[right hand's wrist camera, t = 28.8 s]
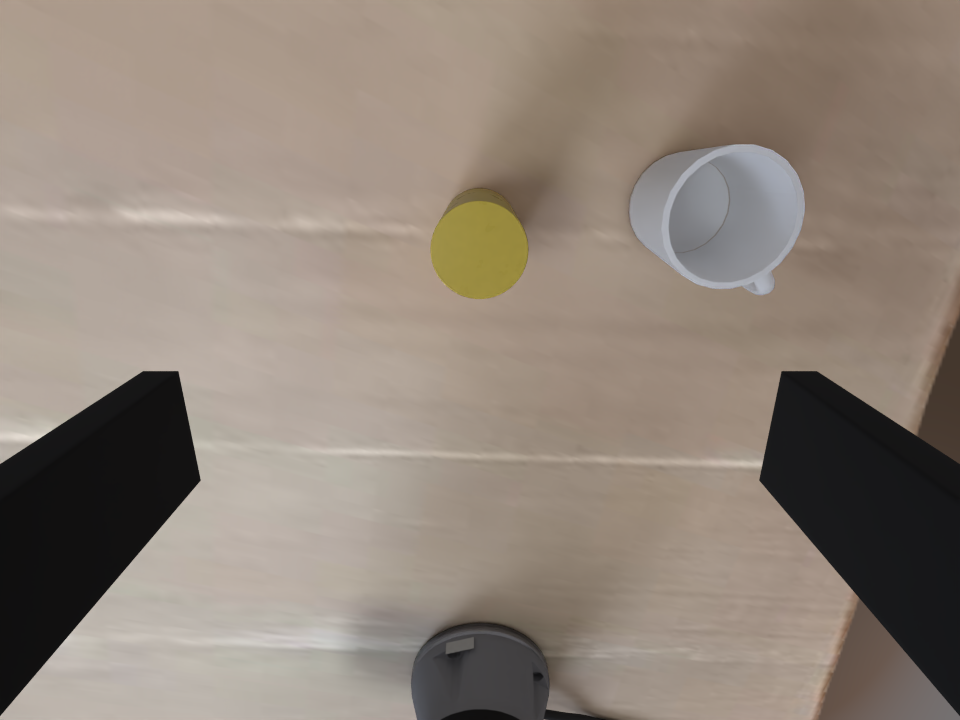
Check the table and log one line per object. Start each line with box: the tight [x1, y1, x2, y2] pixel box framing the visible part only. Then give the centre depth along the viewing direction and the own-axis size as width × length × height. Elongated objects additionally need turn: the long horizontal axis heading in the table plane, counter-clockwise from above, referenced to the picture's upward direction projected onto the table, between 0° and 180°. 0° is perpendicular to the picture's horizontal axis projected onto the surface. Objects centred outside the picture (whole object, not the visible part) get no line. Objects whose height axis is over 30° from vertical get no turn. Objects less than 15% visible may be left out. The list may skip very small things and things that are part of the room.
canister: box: [431, 188, 528, 299], centre depth 40 cm, size 6×6×12 cm
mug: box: [629, 144, 805, 295], centre depth 40 cm, size 11×9×10 cm
